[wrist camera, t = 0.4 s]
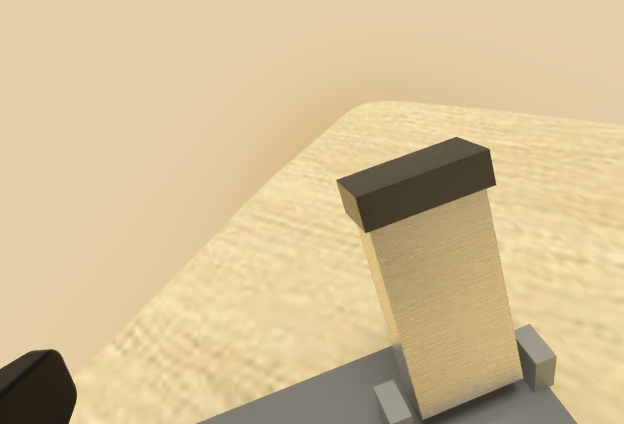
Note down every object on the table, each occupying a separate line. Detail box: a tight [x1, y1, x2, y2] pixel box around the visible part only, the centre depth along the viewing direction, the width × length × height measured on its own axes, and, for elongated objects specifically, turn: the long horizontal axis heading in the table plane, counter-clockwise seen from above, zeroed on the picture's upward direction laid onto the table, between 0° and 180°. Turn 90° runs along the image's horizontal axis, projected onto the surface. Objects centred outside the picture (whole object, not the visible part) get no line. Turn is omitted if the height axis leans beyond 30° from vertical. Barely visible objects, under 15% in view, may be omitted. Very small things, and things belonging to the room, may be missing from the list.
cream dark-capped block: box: [336, 137, 523, 420], centre depth 19 cm, size 2×4×9 cm, turn 108°
